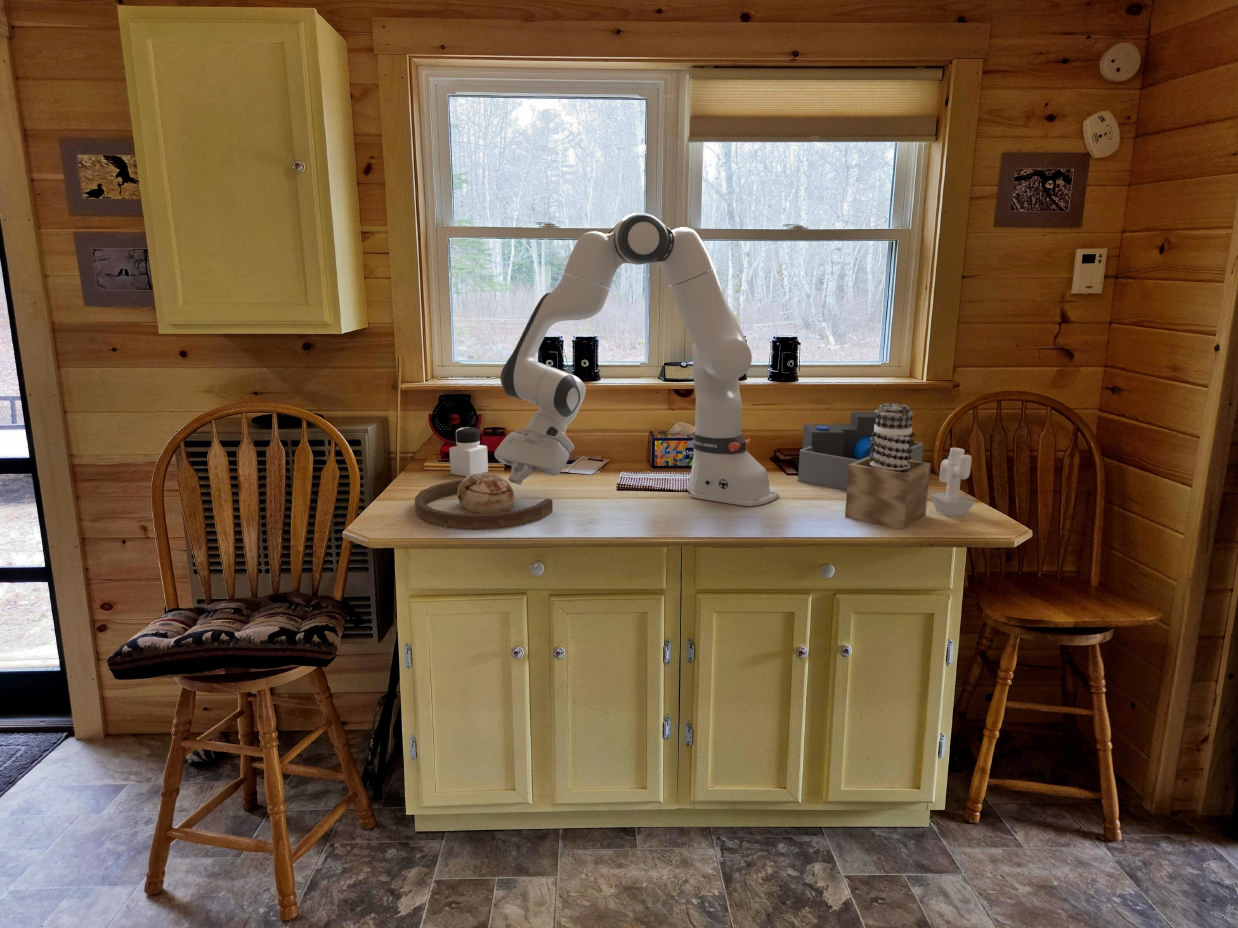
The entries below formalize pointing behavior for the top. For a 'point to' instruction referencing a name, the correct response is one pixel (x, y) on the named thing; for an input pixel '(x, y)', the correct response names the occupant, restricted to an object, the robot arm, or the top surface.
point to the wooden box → (887, 493)
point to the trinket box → (485, 494)
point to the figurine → (953, 484)
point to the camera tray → (834, 467)
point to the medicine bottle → (468, 453)
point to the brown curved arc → (473, 520)
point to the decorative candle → (892, 438)
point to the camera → (842, 436)
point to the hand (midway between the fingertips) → (513, 482)
